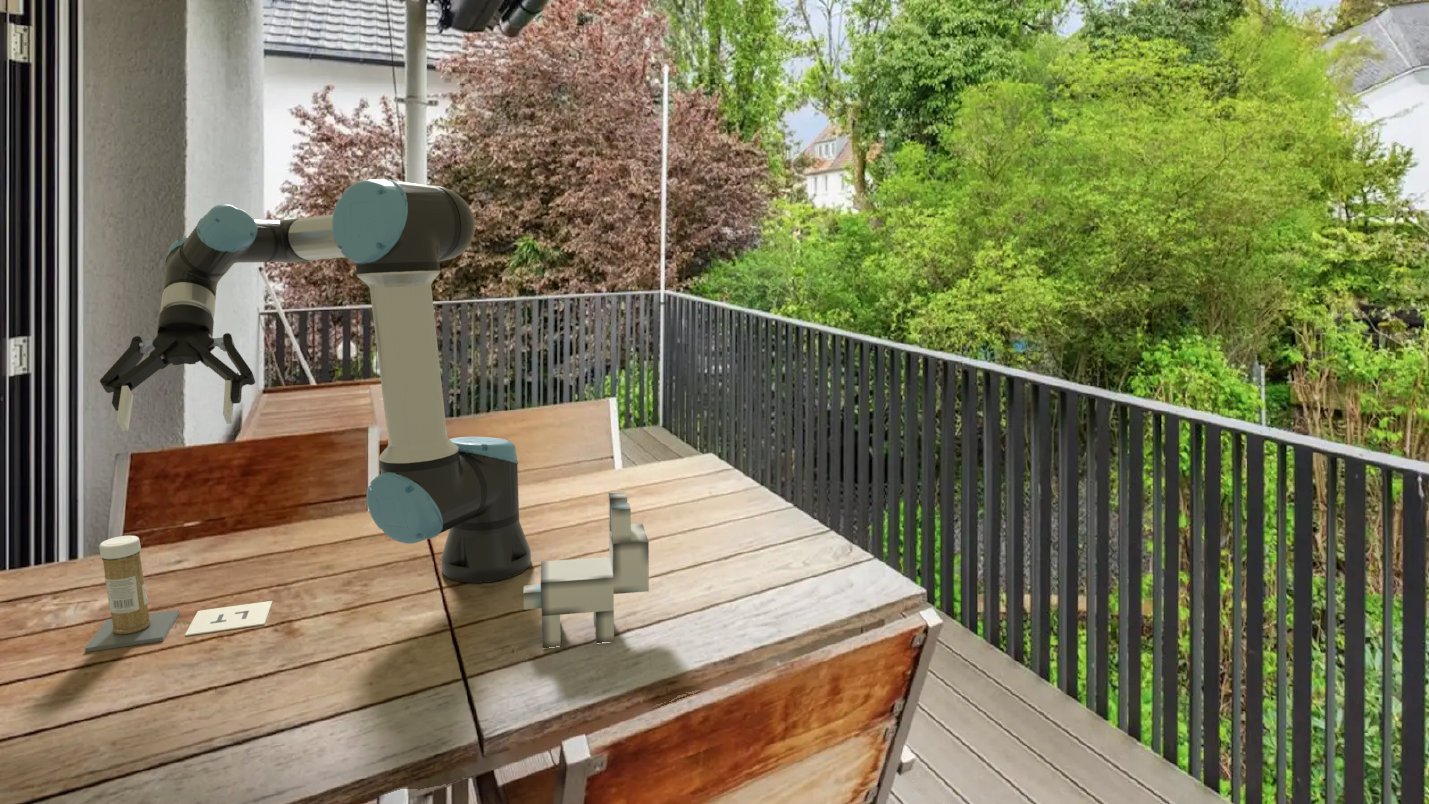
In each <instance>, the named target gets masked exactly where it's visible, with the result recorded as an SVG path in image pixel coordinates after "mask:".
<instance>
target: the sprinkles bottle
mask: <svg viewBox="0 0 1429 804" xmlns="http://www.w3.org/2000/svg"><path fill="white" fill-rule="evenodd" d="M140 540H141V539H140V538H139V536H136V535H121V536H115V537H112V538H111V537H110V538H108V539H106V540H103V541H102V542H101V543H99V546H98V548H99V554H100V557H101V560H102V563H103V570H104V582H105V587H106V593H107V594H106V595H107V600H108V607H109V611H110V615H111V619H112V623H113V628H112V630H113V632H114V633H116V634H129V633H134V632H138V631H140V630H142V629H145V628H146V627H148V626H149V625H150V623H151V619H150V617H149V614H150V613H149V606H148V596H147V590H146V587H147V586H146V583H145V578H144V571H143V564H142V559H141V551H142V550H141V549H142V548H141V542H140Z"/></svg>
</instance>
